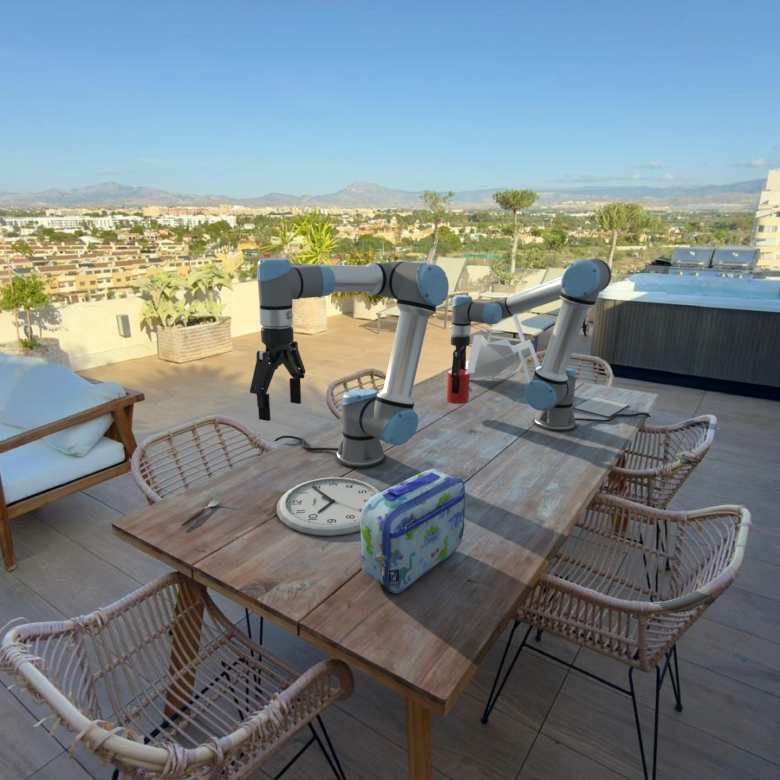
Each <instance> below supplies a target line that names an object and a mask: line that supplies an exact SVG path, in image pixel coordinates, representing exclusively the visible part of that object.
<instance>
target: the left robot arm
mask: <svg viewBox="0 0 780 780" xmlns="http://www.w3.org/2000/svg"><path fill="white" fill-rule="evenodd" d="M256 275H257V277H256V280H257V288H258V303H259V324H260V325H261V328H260V341H261V343H262V344H264V346H265V349H264V350H263V351H262V350H257V351H256V361H255V366H254V370H253V375H252V379H251V384H250V388H249V393H250V394H255V395H256V403H257V404H256V406H257V410H258V420H261V421H267V422H270V421H271V405H270V402H271V401H270V393H268V390H269V387H270V384H271V382H272V379H273V376H274V374H275V371H276V370H278V369H279V367H280V366H282V365H283V366H284V368H285V369H286V371H287V372H288V374H289V375H290V376H291V377H289V400H290V403H292V404H297V405H301V404H302V393H301V388H302V387H301V384H302V383H301V379H302V380H303V379H305V374H306V368H305V365H304V362H303V360H302V357H301V354H300V351H299V345H298V341H297V340H296V341H295V340H294V327H293V326H292V325H293V324H294V322H293V316H294V315H293V314H294V313H293V300H298V299H299V300H300V299H310V298H322V297H327V296H330V295H331V294H333V293H365V294H367V295H368V296H377V297H384V298H389V299H392V300H396V307H397V308H398V310H399V315H398V320H397V325H396V330H395V333H394V334H395V335H394V338H393V344H392V347H391V353H390V357H389V361H388V364H387V365H388V366H387V371H386V375H385V379H384V384H383V389H382V390H381V391H380V392H379V390H377V389H373V388H360V389H359V388H358V389H353V390H350V391H347V392H344V394H343V396H342V402H341V417H342V419H341V420H342V421H341V422H342V438H341V440H340V443H339V445H338V447H309V446H306V442H307V441H306V440H305V439H304V438H302V437H298V436H294V435H281V436H278V437H276V438H275V439H274V440H273V441H274V442H278V441H280V440H281V439H282V440H283V439H292V440H293V439H294V440H298V441H300V442H302V448H303V449H305V450H308V451H337V452H336V456H337V457H336V458H337V461H338V462H339V464H341V465H343V466H346V467H349V468H357V469H363V468H364V469H365V468H372V467H374V466H377V465H380V464H381V463H382V462H383V461H384V458H385V452H384V447H383V446H385V444H389V445H393V446H402V445H404V444H406V443H407V442H408V441H410V440H411V439H412V438H413V437H414V435H415V433H416V431H417V429H418V426H419V417H418V414H417V412H416V411H415V410H414V408H415V401H414V399H413V398H412V393H413V388H414V384H415V380H416V375H417V371H418V366H419V362H420V357H421V353H422V349H423V345H424V339H425V335H426V331H427V326H428V322H429V319H430V317H432V316H433V315H435V314H436V310H437V307H439V306H441V305H443V303H444V302H445V301H446V300H447V297H448V295H449V289H450V286H449V285H450V284H449V283H450V282H449V278H448V276H447V274H446V272H445V270H444V269H443V268H442V267H441V266H440V265H438V264H435V263H434V264H433V263H429V262H417V261H416V262H415V261H403V260H398V261H397V260H396V261H387V262H369V263H366V265H346V264H345V265H344V264H319V263H295V262H294V263H291V260H289V259H288V258H280V257H279V258H272V257H271V258H268V257H267V258H261V259H259V261H258V262H257V274H256ZM381 441H382V442H383V446H382V442H381Z"/></svg>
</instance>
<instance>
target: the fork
mask: <svg viewBox="0 0 780 780" xmlns="http://www.w3.org/2000/svg"><path fill="white" fill-rule="evenodd" d="M224 494H225V493H223V492H220V491H217V492H216V494H215V495H214V496H213V498H212V499H211V500H210V502H209V503H208V504H207V506H206V507H204V508H202V509H200V510H198V511H197V512H195V513H194V514H193V515H192V516H190V517H189V518H188V519H186V520H185V521H184V522H183V523H182V524H181V525H180V526H181V527H183V526H185V525H187V524H189V523H190V522H191V521H193V520H195V519H196V518H198V517H199V516H201V515H202V514H203V513H204V512H205V511H206V510H207V509H208V508H212V507H216V506H218V505H219V504H220V503H221V501H222V498H223V497H224Z"/></svg>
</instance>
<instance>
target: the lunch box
mask: <svg viewBox="0 0 780 780" xmlns="http://www.w3.org/2000/svg"><path fill="white" fill-rule="evenodd" d="M465 512H466V487H465V482H464V481H463V479H462V478H459V477H452V476H450V475H448V474H446V473H444V472H442V471H441V470H439V469H436V468H431V469H427V470H425V471H423V472H420V473H417V474H416V475H413V476H412V477H409V478H407V479H405V480H403V481H401V482H399V483H397V484H395V485H393V486H390V487H388V488H386V489H385V490H383V491H381V493H378V494H376V495H375V496H373V497H371V498H370V499H369V500H368V501H367V502H366V504H365V505H364V507H363V510H362V513H361V520H360V531H359V532H360V562H361V563H360V564H361V569H362V573H363V574H364V575H365V576H366V577H368V578H370V579H372V580H374V581H376V582H378V583H379V584H380V585H382V586H384V587H385V589H386V591H389V592H391V593H392V594H399V593H402V592H403V591H405V590H406V589H407V588H409V586H411V585H412V584H413V583H415V582H416V581H418V580H419V579H420V578H421V577H423V576H424V575H426V574H427V573H428V572H429V571H431V570H432V569H433V568H434V567H435V566H436V565H438V564H439V563H441V562H443V561H445V560H446V559H448V558H449V557H450V556H452V555H453V554H454V553H455V552H456V551H457V549H458V548H459V546H460V544H461V542H462V539H463V536H464V531H465V517H466V516H465V514H466V513H465Z"/></svg>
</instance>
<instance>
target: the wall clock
mask: <svg viewBox="0 0 780 780" xmlns="http://www.w3.org/2000/svg"><path fill="white" fill-rule="evenodd" d="M381 492H382V491H381V490H380V489H379V488H377V487H376V486H374V485H372V484H371V483H369V482H365V481H362V480H359V479H355V478H349V477H338V476H337V477H335V476H333V477H332V476H331V477H322V478H317V479H312V480H307V481H305V482H302V483H299V484H297V485H295V486H293V487H292V488H290V489H288V490H287V491H286V492H285V493H284V494H283V495H281V496H280V498H279V499H278V502H277V503H276V515H277V517H278V518H279V520H280V521H281V522H282V523H283V524H285V525H286V526H287V527H288V528H290V529H293V530H295V531H297V532H299V533H303V534H308V535H312V536H327V537H328V536H329V537H331V536H332V537H333V536H342V535H350V534H352V533H356V532H360V520H361V513H362V510H363V507H364V505H365V504H366V502H367V501H368V500H369V499H370V498H371V497H373V496H375V495H376V494H378V493H381Z"/></svg>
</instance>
